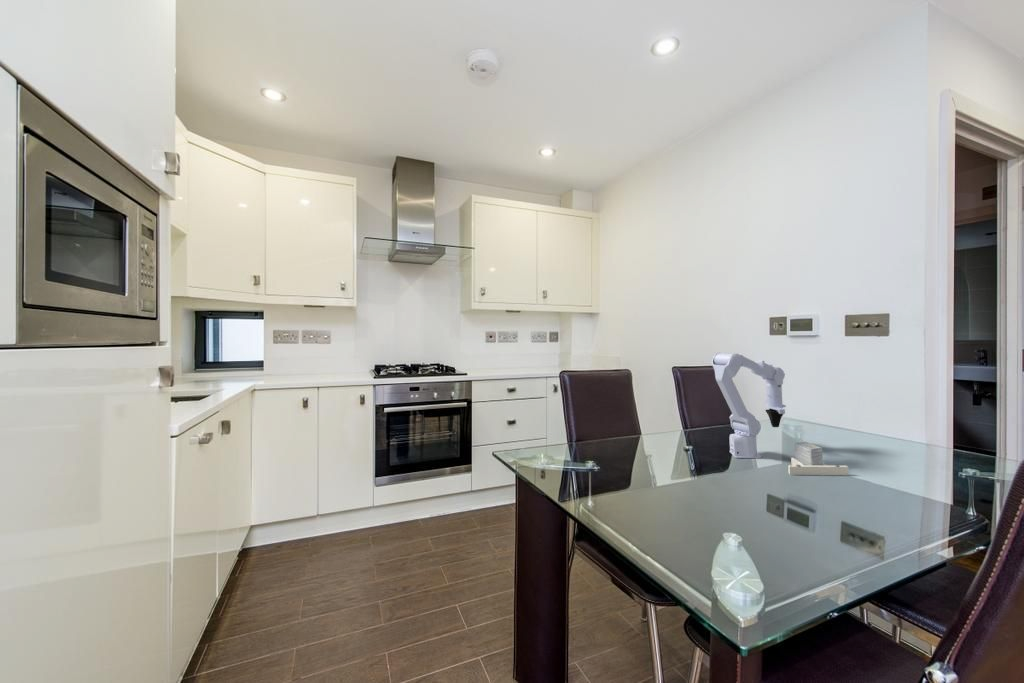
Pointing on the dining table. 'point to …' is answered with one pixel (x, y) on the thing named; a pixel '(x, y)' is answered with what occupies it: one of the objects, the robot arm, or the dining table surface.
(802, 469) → the dock
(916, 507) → the dining table surface
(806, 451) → the medicine box
